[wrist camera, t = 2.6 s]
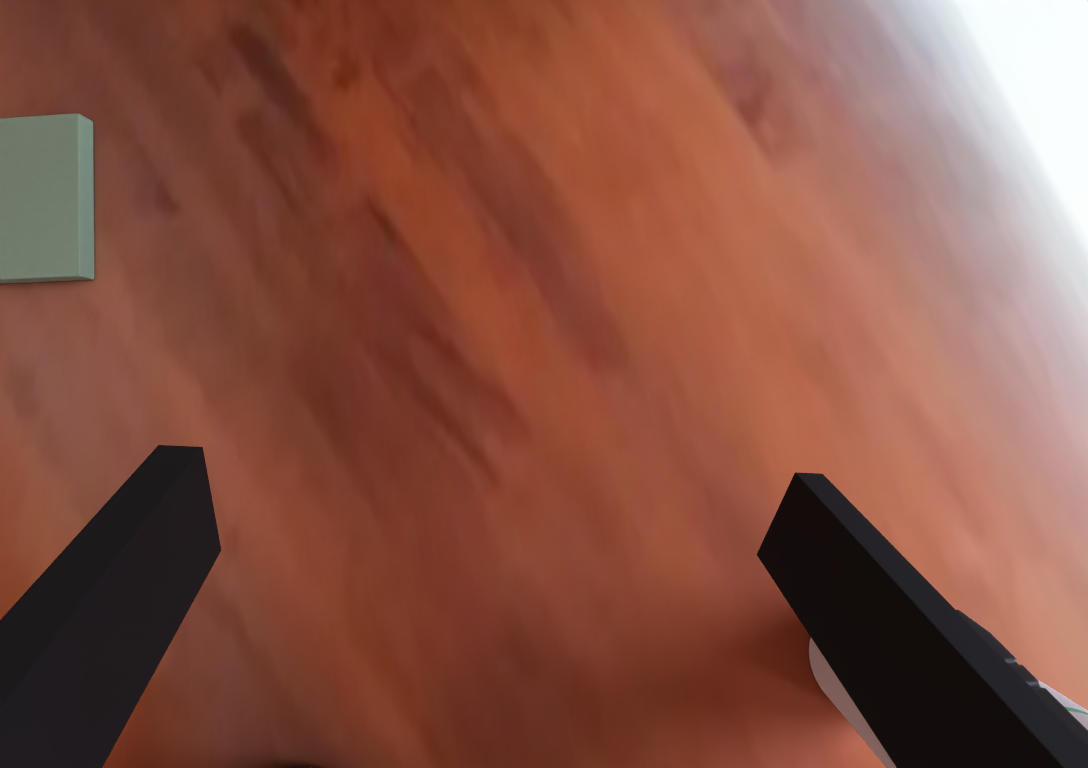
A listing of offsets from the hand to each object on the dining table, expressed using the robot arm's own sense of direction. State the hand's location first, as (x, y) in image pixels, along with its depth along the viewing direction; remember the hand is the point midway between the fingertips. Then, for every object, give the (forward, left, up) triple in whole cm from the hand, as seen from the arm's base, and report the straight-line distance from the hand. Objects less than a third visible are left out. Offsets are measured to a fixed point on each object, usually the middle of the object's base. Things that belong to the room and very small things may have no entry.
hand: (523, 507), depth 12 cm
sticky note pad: (-16, -33, -18) cm, 41 cm away
